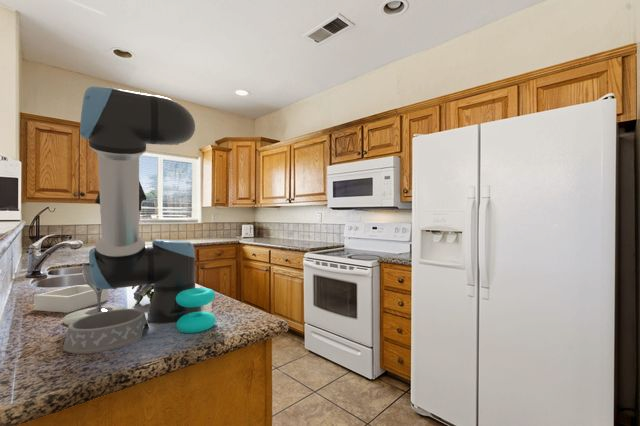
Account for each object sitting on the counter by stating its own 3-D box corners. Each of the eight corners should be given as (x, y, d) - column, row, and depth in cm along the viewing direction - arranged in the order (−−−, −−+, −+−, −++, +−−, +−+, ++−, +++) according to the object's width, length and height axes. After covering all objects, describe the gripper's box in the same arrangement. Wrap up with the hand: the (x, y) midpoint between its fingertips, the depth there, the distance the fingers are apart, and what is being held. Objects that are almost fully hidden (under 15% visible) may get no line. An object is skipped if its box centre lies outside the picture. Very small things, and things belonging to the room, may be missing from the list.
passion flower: (138, 320, 108) (126, 290, 112) (170, 307, 116) (158, 279, 119) (142, 308, 101) (129, 276, 104) (176, 295, 108) (163, 266, 112)
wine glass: (77, 313, 95) (75, 265, 95) (101, 306, 103) (100, 260, 103) (96, 316, 93) (95, 265, 93) (120, 307, 101) (119, 261, 101)
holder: (108, 300, 115) (107, 286, 115) (68, 312, 101) (68, 297, 101) (77, 298, 118) (77, 285, 118) (34, 310, 104) (34, 295, 104)
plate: (134, 310, 102) (134, 306, 102) (91, 327, 87) (91, 323, 87) (97, 308, 105) (97, 304, 105) (50, 323, 91) (49, 319, 91)
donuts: (215, 285, 92) (213, 294, 82) (216, 319, 92) (214, 332, 82) (179, 288, 89) (172, 297, 79) (179, 323, 89) (173, 336, 79)
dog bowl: (48, 359, 69) (48, 335, 69) (86, 329, 86) (86, 310, 86) (135, 349, 73) (135, 326, 73) (154, 322, 91) (154, 304, 91)
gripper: (157, 162, 114) (157, 220, 112) (103, 169, 120) (102, 224, 118) (140, 157, 106) (140, 219, 105) (84, 164, 113) (82, 223, 111)
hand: (120, 222), depth 111 cm, fingers open, 13 cm apart
